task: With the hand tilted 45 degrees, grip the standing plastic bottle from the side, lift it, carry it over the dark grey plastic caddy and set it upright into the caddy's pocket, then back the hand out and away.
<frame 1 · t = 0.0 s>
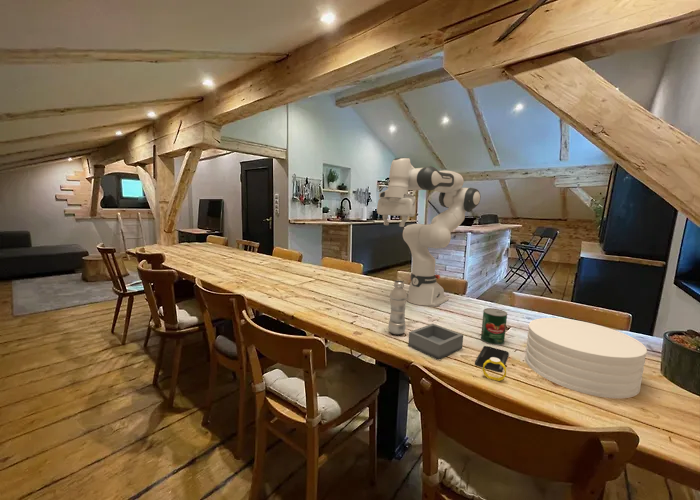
hand: (393, 225, 139), 39 cm above the table, tool pointing down, fingers open, 8 cm apart
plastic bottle: (396, 333, 119), on the table
watch: (493, 379, 89), on the table
phone: (491, 360, 100), on the table
canned tomato: (492, 341, 114), on the table
caddy: (435, 347, 107), on the table
plate stack: (577, 371, 95), on the table
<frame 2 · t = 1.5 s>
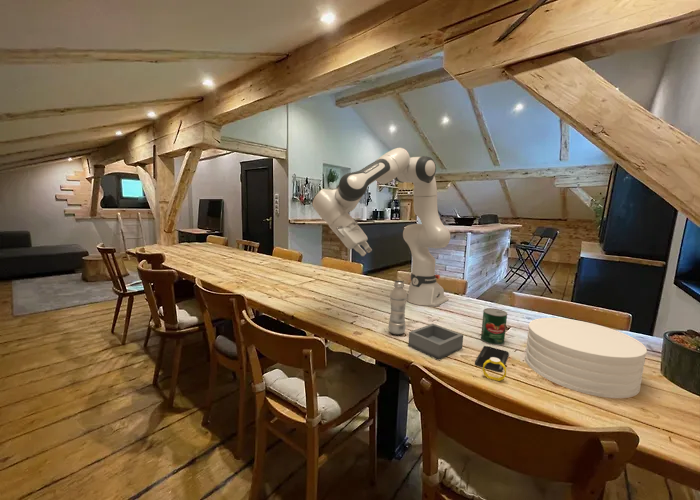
hand: (367, 253, 118), 30 cm above the table, tool tilted 45°, fingers open, 8 cm apart
nothing on the table moved.
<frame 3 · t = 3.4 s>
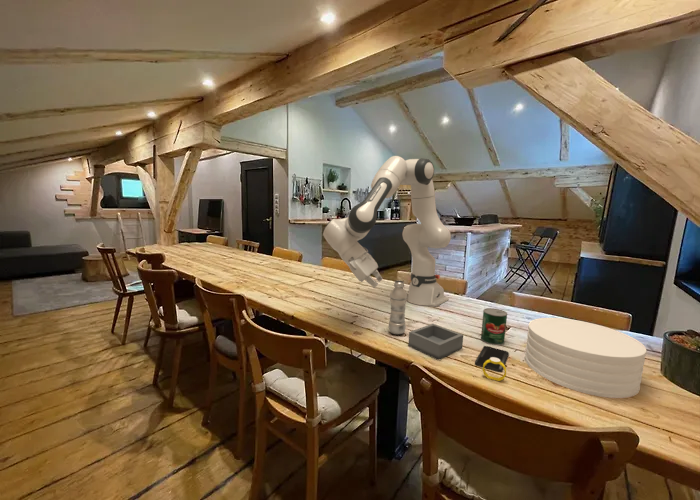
hand: (378, 283, 118), 19 cm above the table, tool tilted 45°, fingers open, 8 cm apart
nothing on the table moved.
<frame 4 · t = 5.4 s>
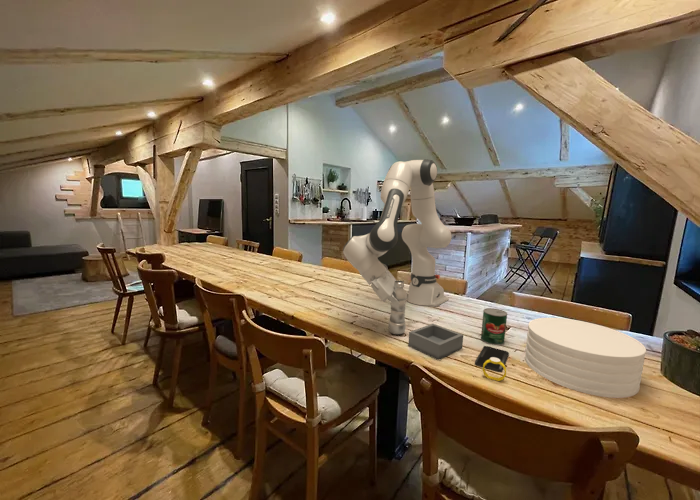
hand: (399, 301, 117), 12 cm above the table, tool tilted 45°, fingers closed on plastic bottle, 7 cm apart
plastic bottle: (396, 333, 119), on the table, touching gripper
everything else where it was.
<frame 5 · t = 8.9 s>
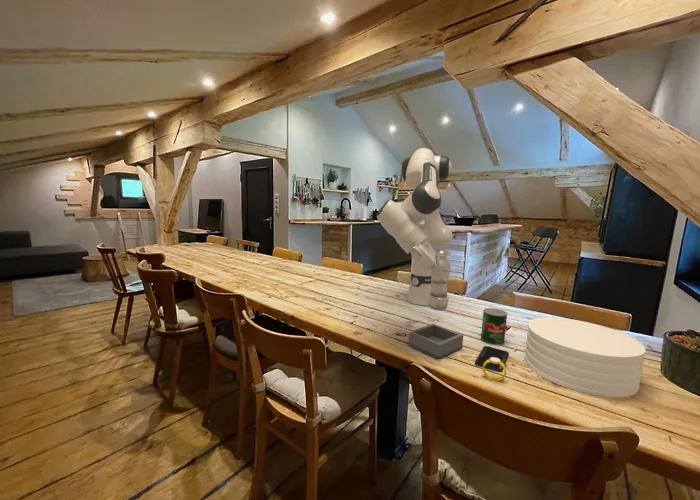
hand: (442, 272, 104), 26 cm above the table, tool tilted 45°, fingers closed on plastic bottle, 6 cm apart
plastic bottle: (437, 309, 106), point 13 cm above the table, touching gripper
everything else where it was.
when the fingers open (15 cm above the table, at t = 12.1 s): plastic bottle stays where it is, resting on caddy.
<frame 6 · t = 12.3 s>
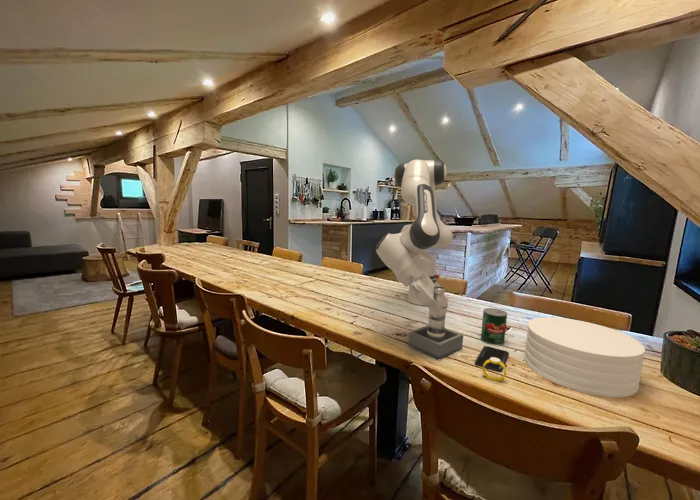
hand: (439, 305, 105), 15 cm above the table, tool tilted 45°, fingers open, 8 cm apart
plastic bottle: (435, 344, 107), point 1 cm above the table, touching caddy
everything else where it was.
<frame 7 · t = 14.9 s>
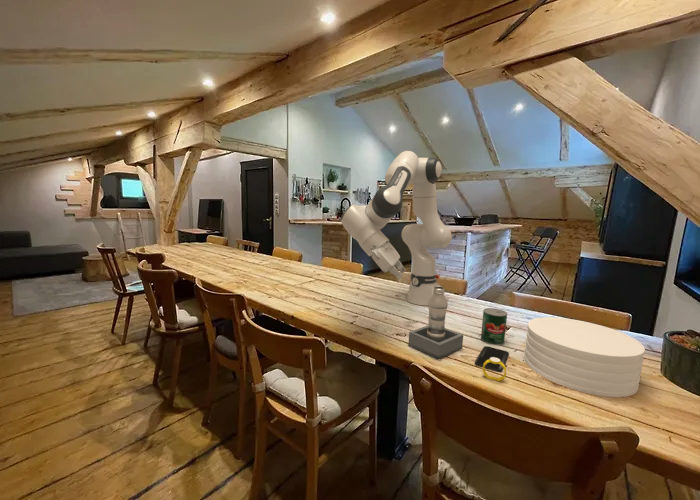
hand: (402, 274, 107), 24 cm above the table, tool tilted 45°, fingers open, 8 cm apart
nothing on the table moved.
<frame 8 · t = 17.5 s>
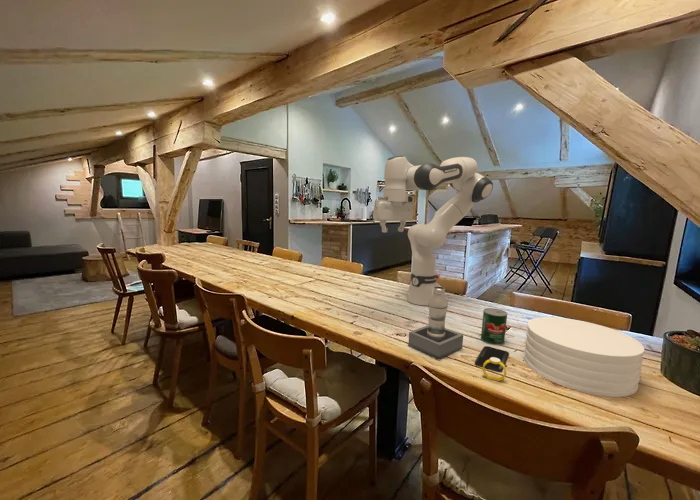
hand: (392, 232, 127), 37 cm above the table, tool pointing down, fingers open, 8 cm apart
nothing on the table moved.
at the end: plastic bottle 0.1 cm off-centre on the caddy, point 0.8 cm above the caddy's base; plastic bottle tilted 0°; the gripper is holding nothing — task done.
